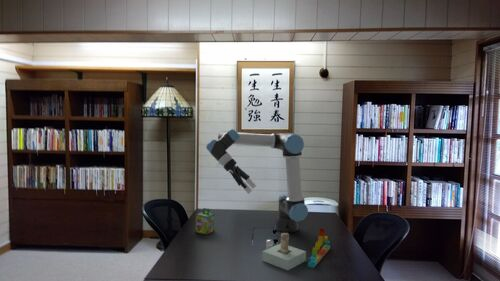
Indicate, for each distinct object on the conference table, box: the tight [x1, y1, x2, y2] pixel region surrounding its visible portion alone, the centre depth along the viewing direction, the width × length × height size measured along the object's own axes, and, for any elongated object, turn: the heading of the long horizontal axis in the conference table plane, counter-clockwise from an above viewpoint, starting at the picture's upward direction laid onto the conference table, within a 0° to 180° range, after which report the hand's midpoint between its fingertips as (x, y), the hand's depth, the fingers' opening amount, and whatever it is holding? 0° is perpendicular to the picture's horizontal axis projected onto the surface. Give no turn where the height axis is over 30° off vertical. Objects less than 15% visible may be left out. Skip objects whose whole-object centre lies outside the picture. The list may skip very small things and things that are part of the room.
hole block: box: [261, 242, 307, 271], centre depth 173 cm, size 16×16×5 cm
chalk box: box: [194, 207, 216, 236], centre depth 213 cm, size 9×9×15 cm
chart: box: [307, 227, 331, 269], centre depth 179 cm, size 30×3×15 cm, turn 151°
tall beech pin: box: [280, 232, 290, 254], centre depth 172 cm, size 4×4×14 cm
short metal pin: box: [265, 238, 274, 250], centre depth 188 cm, size 4×4×5 cm
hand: (252, 189), depth 191 cm, fingers open, 13 cm apart
